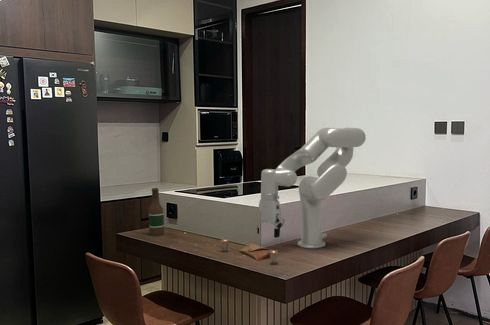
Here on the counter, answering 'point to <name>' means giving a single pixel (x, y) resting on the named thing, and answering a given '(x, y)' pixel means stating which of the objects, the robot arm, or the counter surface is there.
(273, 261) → the line post
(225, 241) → the line post
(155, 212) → the beer bottle
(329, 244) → the counter surface
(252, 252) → the sunglasses case
